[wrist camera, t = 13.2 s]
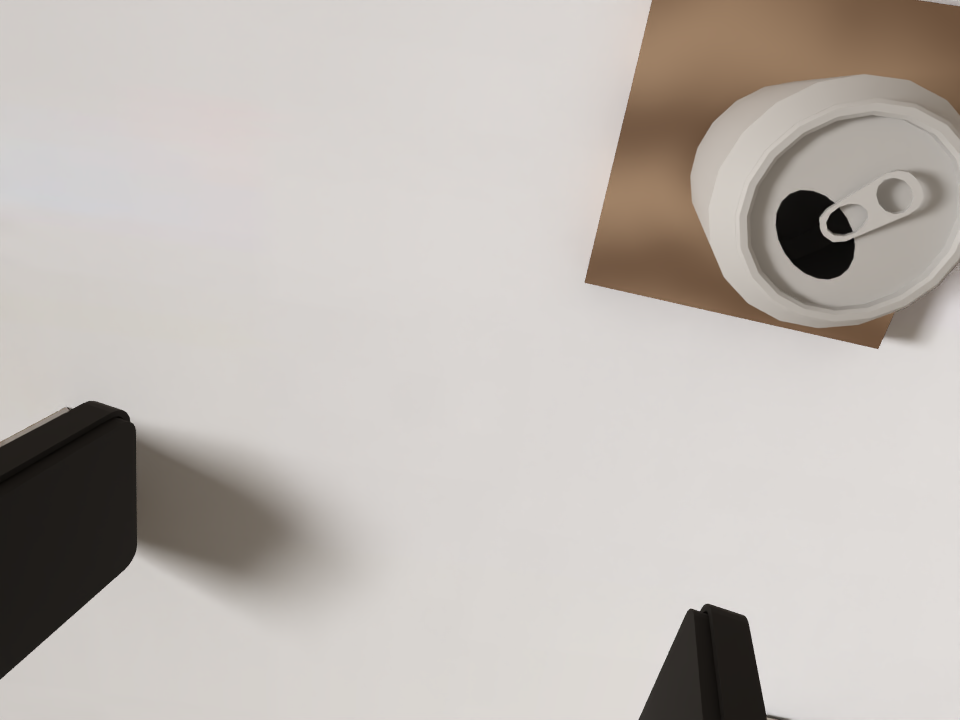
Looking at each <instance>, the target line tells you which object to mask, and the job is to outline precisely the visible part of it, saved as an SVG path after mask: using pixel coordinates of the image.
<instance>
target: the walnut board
mask: <svg viewBox="0 0 960 720" xmlns="http://www.w3.org/2000/svg"><path fill="white" fill-rule="evenodd" d="M860 74H867V75H875V76H882V77H889V78H897V79H904V80H910V81H912V82H914V83H915V84H917V85H919V86H921V87H923V88H925V89H927V90H929V91H931V92H933V93H934V94H936V95H938V96H940V97H942V98H944V99H946V100H947V101H948V102H949V103H950V104H951V105H952V107H953V108H954V109H955V110H956V111H957V113H958V114H959V115H960V6H953V5H946V4H939V3H933V2H926V1H919V0H652V3H651V7H650V12H649V16H648V20H647V24H646V28H645V32H644V37H643V41H642V45H641V49H640V53H639V58H638V62H637V66H636V70H635V74H634V78H633V83H632V87H631V91H630V95H629V99H628V103H627V108H626V112H625V116H624V120H623V124H622V128H621V133H620V137H619V141H618V145H617V149H616V153H615V158H614V162H613V166H612V170H611V174H610V179H609V183H608V187H607V191H606V195H605V199H604V204H603V208H602V212H601V216H600V220H599V224H598V229H597V233H596V237H595V241H594V245H593V249H592V254H591V258H590V262H589V266H588V270H587V275H586V279H585V283H589V284H593V285H598V286H602V287H606V288H611V289H615V290H620V291H624V292H629V293H633V294H637V295H642V296H646V297H651V298H655V299H660V300H664V301H668V302H673V303H677V304H682V305H686V306H690V307H695V308H699V309H704V310H708V311H713V312H717V313H721V314H726V315H730V316H735V317H739V318H744V319H748V320H752V321H757V322H761V323H766V324H770V325H775V326H779V327H783V328H788V329H792V330H797V331H801V332H806V333H810V334H814V335H819V336H823V337H828V338H832V339H837V340H841V341H845V342H850V343H854V344H859V345H863V346H868V347H872V348H876V349H878V348H879V346H880V344H881V341H882V339H883V337H884V335H885V333H886V330H887V328H888V326H889V324H890V321H891V319H892V317H893V315H894V313H895V312H893V313H890V314H888V315H885V316H882V317H879V318H876V319H874V320H871V321H868V322H865V323H862V324H860V325H851V326H839V327H827V328H814V327H809V326H804V325H799V324H794V323H789V322H784V321H779V320H778V319H776V318H774V317H772V316H770V315H768V314H767V313H765V312H763V311H761V310H759V309H757V308H755V307H754V306H752V305H750V304H748V303H747V302H746V301H745V300H744V299H743V297H742V296H741V295H740V294H739V293H738V292H737V291H736V290H735V289H734V288H733V287H732V286H731V284H730V283H729V282H728V281H727V280H726V279H725V278H724V276H723V274H722V271H721V269H720V267H719V264H718V262H717V260H716V257H715V255H714V253H713V250H712V248H711V246H710V244H709V241H708V239H707V237H706V234H705V232H704V230H703V227H702V225H701V222H700V220H699V218H698V215H697V213H696V211H695V208H694V206H693V203H692V195H691V179H690V175H691V171H692V167H693V163H694V159H695V155H696V151H697V148H698V146H699V144H700V143H701V141H702V139H703V138H704V136H705V135H706V133H707V131H708V130H709V128H710V126H711V125H712V123H713V122H714V121H715V120H716V119H717V118H718V117H719V116H720V115H721V114H723V113H724V112H725V111H726V110H727V109H728V108H729V107H730V106H731V105H732V104H733V103H734V102H736V101H737V100H739V99H741V98H743V97H745V96H747V95H749V94H751V93H753V92H755V91H757V90H759V89H761V88H763V87H766V86H772V85H777V84H783V83H789V82H794V81H803V80H813V79H822V78H832V77H841V76H851V75H860Z"/></svg>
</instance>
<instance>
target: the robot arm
mask: <svg viewBox="0 0 960 720" xmlns="http://www.w3.org/2000/svg"><path fill="white" fill-rule="evenodd" d="M136 548H137V511H136V430H135V426H134V424H133V423H131V422H130V417H129V415H128V414H127V413H126V412H125V411H123V410H120V409H117V408H114V407H111V406H108V405H105V404H102V403H99V402H96V401H88V402H86V403H83V404H81V405H79V406H77V407H75V408H73V409H72V410H70V411H68V412H66V413H64V414H62V415H60V416H58V417H56V418H54V419H53V420H51V421H49V422H47V423H45V424H43V425H41V426H39V427H37V428H35V429H34V430H32V431H30V432H28V433H26V434H24V435H22V436H20V437H18V438H16V439H15V440H13V441H11V442H9V443H7V444H5V445H3V446H1V447H0V679H1V678H3V677H4V676H5V675H6V674H7V673H8V672H9V671H10V670H12V669H13V668H14V667H15V666H16V665H17V664H18V663H20V662H21V661H22V660H23V659H24V658H25V657H26V656H27V655H29V654H30V653H31V652H32V651H33V650H34V649H35V648H36V647H38V646H39V645H40V644H41V643H42V642H43V641H44V640H46V639H47V638H48V637H49V636H50V635H51V634H52V633H53V632H55V631H56V630H57V629H58V628H59V627H60V626H61V625H62V624H64V623H65V622H66V621H67V620H68V619H69V618H70V617H72V616H73V615H74V614H75V613H76V612H77V611H78V610H79V609H81V608H82V607H83V606H84V605H85V604H86V603H87V602H88V601H90V600H91V599H92V598H93V597H94V596H95V595H96V594H98V593H99V592H100V591H101V590H102V589H103V588H104V587H105V586H107V585H108V584H109V583H110V582H111V581H112V580H113V579H114V578H116V577H117V576H118V575H119V574H120V573H121V572H122V571H124V570H125V569H126V568H127V566H128V565H129V564H130V563H131V561H132V559H133V557H134V555H135V552H136ZM639 720H777V719H772V718H767V717H766V711H765V706H764V701H763V696H762V691H761V685H760V680H759V675H758V670H757V665H756V659H755V654H754V649H753V644H752V639H751V633H750V628H749V623H748V620H747V618H746V617H745V616H744V615H741V614H738V613H735V612H732V611H729V610H726V609H723V608H720V607H717V606H714V605H710V604H705V605H704V606H703V607H702V609H701V611H697V610H694V609H689V610H688V611H687V613H686V615H685V617H684V620H683V622H682V624H681V626H680V628H679V631H678V633H677V635H676V637H675V640H674V642H673V644H672V646H671V649H670V651H669V653H668V655H667V658H666V660H665V662H664V664H663V666H662V669H661V671H660V673H659V675H658V678H657V680H656V682H655V684H654V687H653V689H652V691H651V693H650V695H649V698H648V700H647V702H646V704H645V707H644V709H643V711H642V713H641V716H640V718H639Z"/></svg>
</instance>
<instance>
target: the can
mask: <svg viewBox="0 0 960 720" xmlns="http://www.w3.org/2000/svg"><path fill="white" fill-rule="evenodd" d="M690 179H691V195H692V203H693V206H694V208H695V211H696V213H697V215H698V218H699V220H700V222H701V225H702V227H703V230H704V232H705V234H706V237H707V239H708V241H709V244H710V246H711V248H712V250H713V253H714V255H715V257H716V260H717V262H718V264H719V267H720V269H721V271H722V274H723V276H724V278H725V279H726V280H727V281H728V282H729V283H730V284H731V286H732V287H733V288H734V289H735V290H736V291H737V292H738V293H739V294H740V295H741V296H742V297H743V299H744V300H745V301H746V302H747V303H748V304H750V305H752V306H754V307H755V308H757V309H759V310H761V311H763V312H765V313H767V314H768V315H770V316H772V317H774V318H776V319H778V320H779V321H784V322H789V323H794V324H799V325H804V326H809V327H814V328H827V327H839V326H851V325H860V324H862V323H865V322H868V321H871V320H874V319H876V318H879V317H882V316H885V315H888V314H890V313H893V312H896V311H899V310H901V309H904V308H906V307H908V306H909V305H911V304H912V303H914V302H915V301H917V300H918V299H920V298H921V297H923V296H924V295H926V294H927V293H928V292H930V291H931V290H933V289H934V288H936V287H937V286H939V285H940V283H941V282H942V281H943V280H944V279H945V278H946V277H947V275H948V274H949V273H950V272H951V271H952V270H953V268H954V267H955V266H956V265H957V264H958V263H959V261H960V115H959V114H958V113H957V111H956V110H955V109H954V108H953V107H952V105H951V104H950V103H949V102H948V101H947V100H946V99H944V98H942V97H940V96H938V95H936V94H934V93H933V92H931V91H929V90H927V89H925V88H923V87H921V86H919V85H917V84H915V83H914V82H912V81H910V80H904V79H897V78H889V77H882V76H875V75H867V74H860V75H851V76H841V77H832V78H822V79H813V80H803V81H794V82H789V83H783V84H777V85H772V86H766V87H763V88H761V89H759V90H757V91H755V92H753V93H751V94H749V95H747V96H745V97H743V98H741V99H739V100H737V101H736V102H734V103H733V104H732V105H731V106H730V107H729V108H728V109H727V110H726V111H725V112H724V113H723V114H721V115H720V116H719V117H718V118H717V119H716V120H715V121H714V122H713V123H712V125H711V126H710V128H709V130H708V131H707V133H706V135H705V136H704V138H703V139H702V141H701V143H700V144H699V146H698V148H697V151H696V155H695V159H694V163H693V167H692V171H691V175H690Z"/></svg>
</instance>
